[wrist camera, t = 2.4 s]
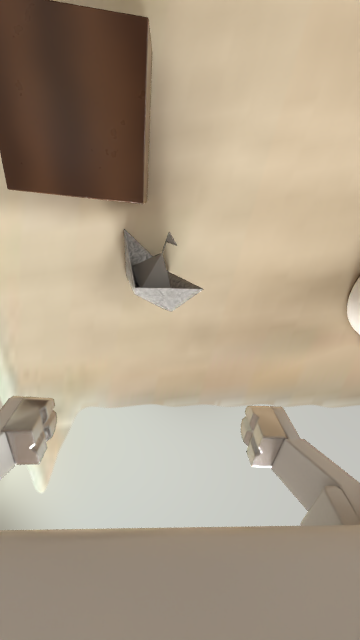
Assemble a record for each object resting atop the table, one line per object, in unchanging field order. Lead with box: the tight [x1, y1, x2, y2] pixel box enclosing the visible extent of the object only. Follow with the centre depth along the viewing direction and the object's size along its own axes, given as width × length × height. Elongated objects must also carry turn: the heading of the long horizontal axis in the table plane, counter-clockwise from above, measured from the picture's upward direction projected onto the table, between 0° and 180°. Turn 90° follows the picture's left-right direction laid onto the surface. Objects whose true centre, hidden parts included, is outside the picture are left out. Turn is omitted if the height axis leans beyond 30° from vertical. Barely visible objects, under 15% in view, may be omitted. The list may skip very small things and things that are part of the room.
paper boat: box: [124, 229, 203, 312], centre depth 28 cm, size 12×6×9 cm
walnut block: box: [0, 0, 152, 204], centre depth 22 cm, size 12×12×5 cm
